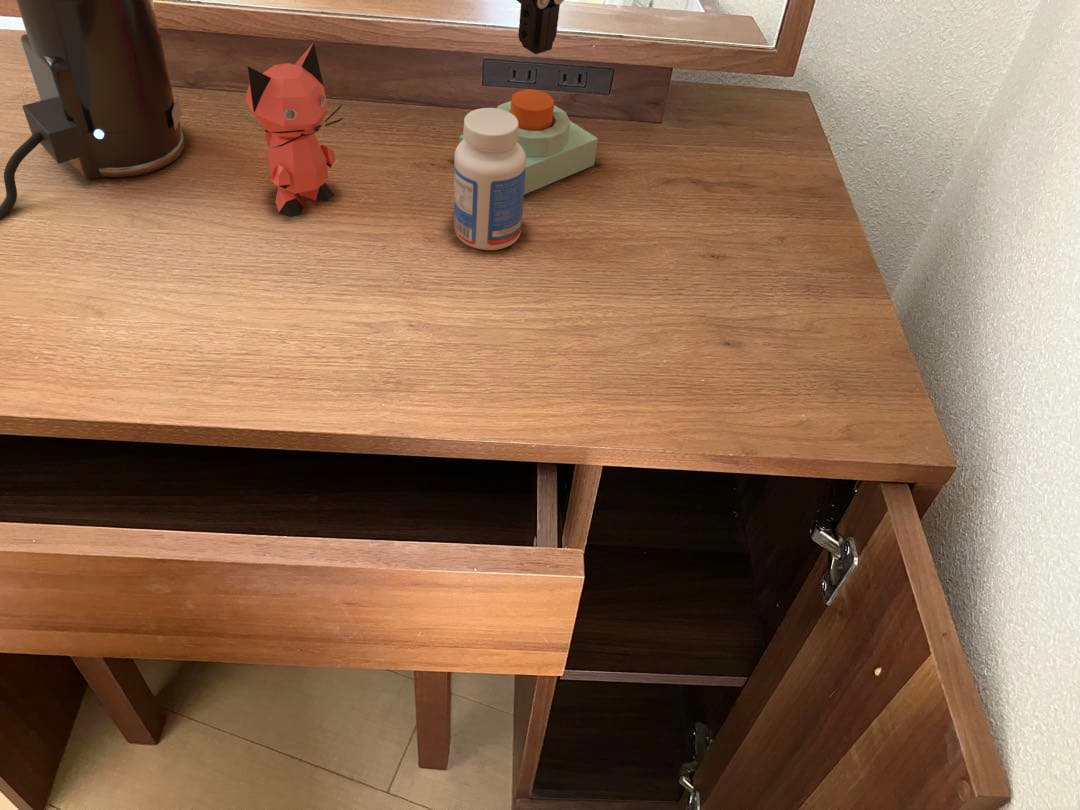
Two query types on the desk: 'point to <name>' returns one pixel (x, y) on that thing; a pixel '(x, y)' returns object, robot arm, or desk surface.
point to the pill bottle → (489, 180)
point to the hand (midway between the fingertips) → (535, 48)
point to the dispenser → (554, 150)
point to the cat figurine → (293, 129)
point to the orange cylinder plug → (532, 109)
